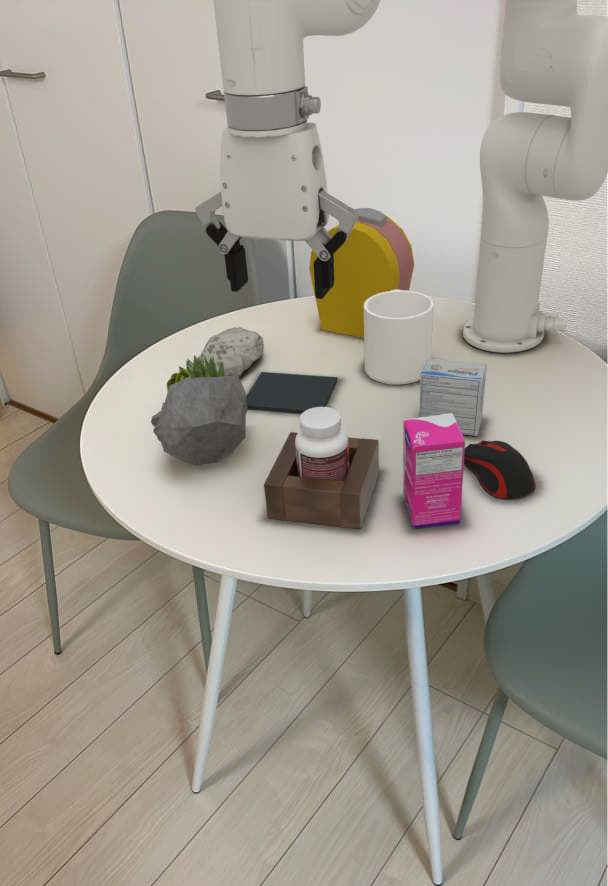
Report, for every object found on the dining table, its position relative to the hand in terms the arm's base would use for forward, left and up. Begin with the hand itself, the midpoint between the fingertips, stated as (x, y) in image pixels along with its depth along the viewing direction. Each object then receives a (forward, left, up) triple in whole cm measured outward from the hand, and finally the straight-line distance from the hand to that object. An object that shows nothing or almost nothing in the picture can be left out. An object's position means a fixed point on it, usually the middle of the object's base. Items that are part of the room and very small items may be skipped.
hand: (280, 290), depth 81 cm
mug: (-8, -29, -24) cm, 39 cm away
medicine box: (-18, -13, -24) cm, 33 cm away
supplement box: (-18, +6, -24) cm, 30 cm away
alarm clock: (0, -42, -24) cm, 49 cm away
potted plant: (+14, -3, -24) cm, 28 cm away
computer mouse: (-25, -3, -24) cm, 35 cm away
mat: (+6, -18, -24) cm, 31 cm away
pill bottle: (-5, +5, -24) cm, 25 cm away
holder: (-5, +5, -24) cm, 25 cm away
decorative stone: (+18, -25, -24) cm, 39 cm away
